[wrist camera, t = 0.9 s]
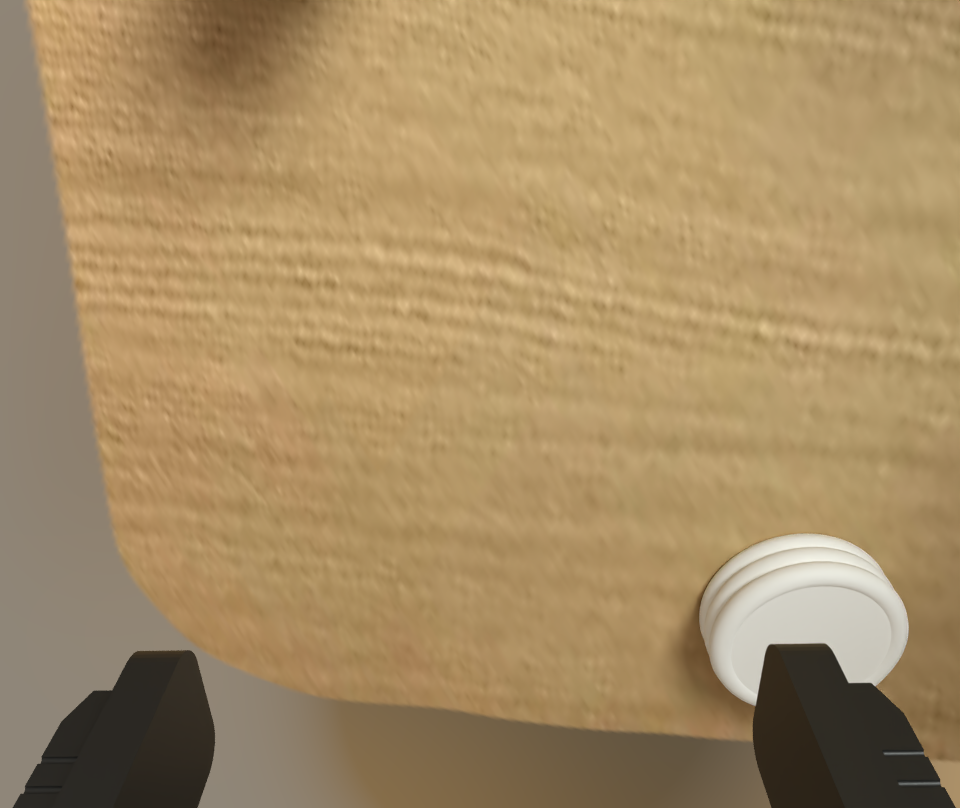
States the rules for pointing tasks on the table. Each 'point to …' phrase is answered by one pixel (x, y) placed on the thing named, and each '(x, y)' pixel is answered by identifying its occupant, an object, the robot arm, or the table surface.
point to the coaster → (801, 610)
